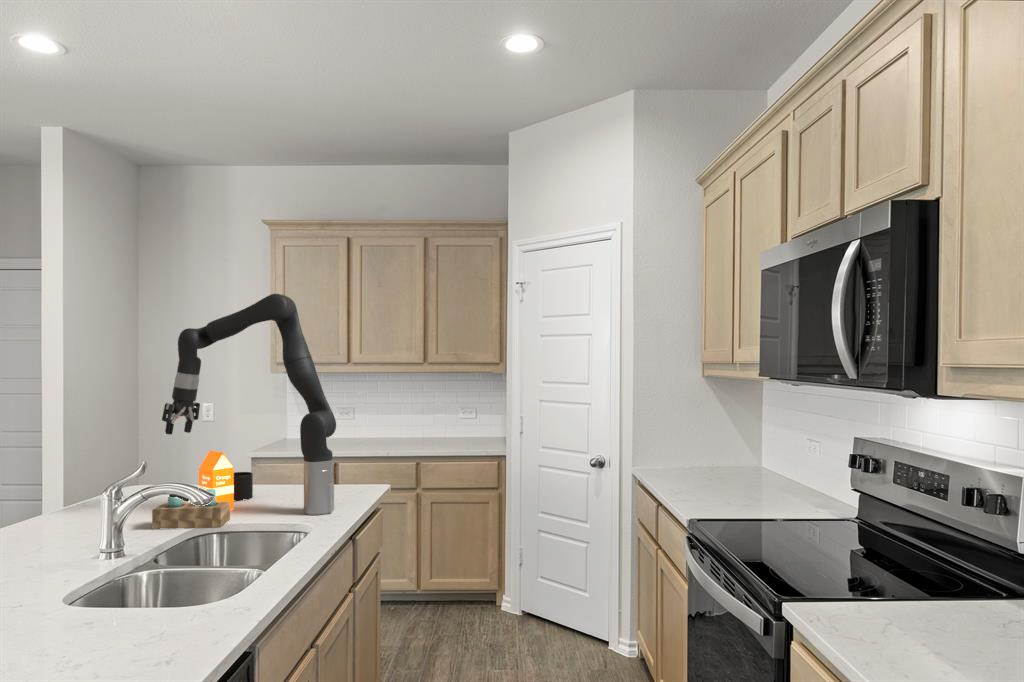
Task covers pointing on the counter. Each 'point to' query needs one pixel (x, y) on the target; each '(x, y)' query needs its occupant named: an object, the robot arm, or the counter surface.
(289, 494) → the counter surface
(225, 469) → the orange juice
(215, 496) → the peg
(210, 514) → the oak block
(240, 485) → the black cylinder
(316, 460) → the robot arm
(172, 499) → the peg
